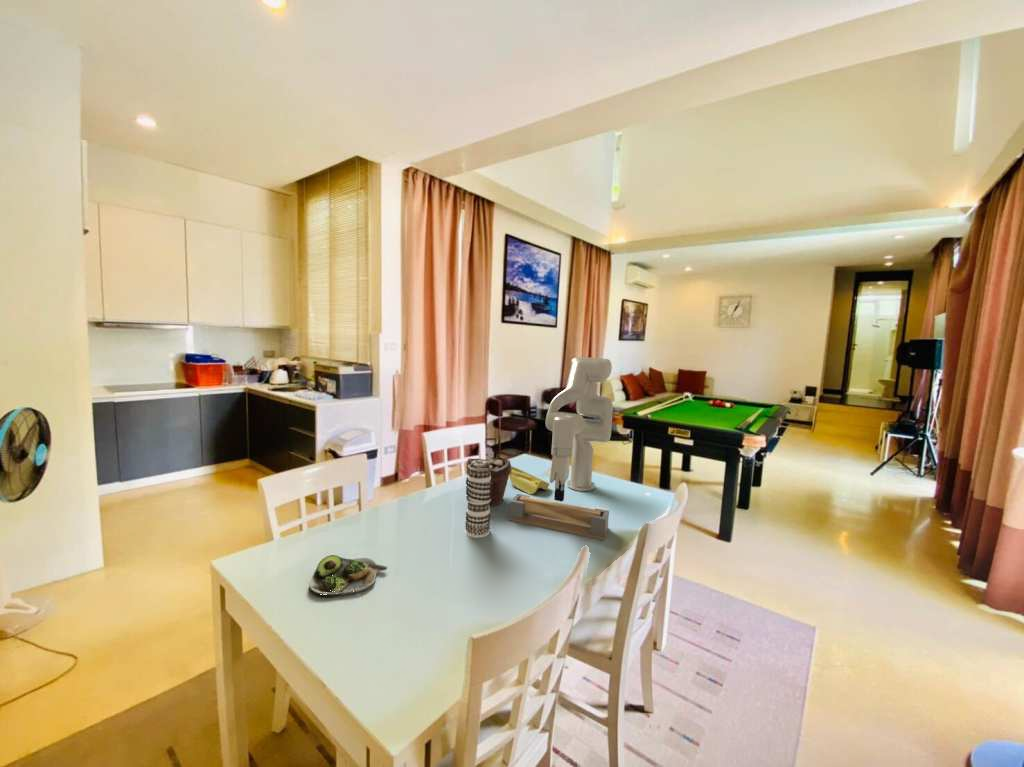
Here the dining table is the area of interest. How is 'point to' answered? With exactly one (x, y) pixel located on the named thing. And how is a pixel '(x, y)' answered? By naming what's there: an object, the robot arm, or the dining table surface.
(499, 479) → the brown pot
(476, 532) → the tower model
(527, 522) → the end cap frame
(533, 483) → the plastic component
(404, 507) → the dining table surface
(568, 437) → the robot arm
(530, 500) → the slat
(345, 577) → the salad plate
